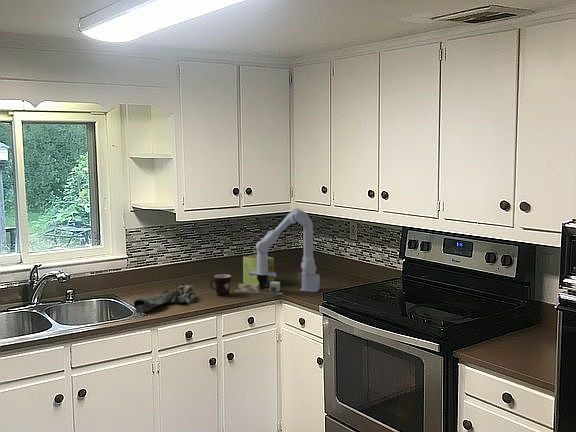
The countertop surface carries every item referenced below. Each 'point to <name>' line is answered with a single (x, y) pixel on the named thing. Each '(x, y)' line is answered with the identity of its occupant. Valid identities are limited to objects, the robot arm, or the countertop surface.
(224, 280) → the coffee mug
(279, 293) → the rail
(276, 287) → the marked cube
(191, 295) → the foil
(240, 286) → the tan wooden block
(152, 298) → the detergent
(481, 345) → the countertop surface
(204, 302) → the countertop surface
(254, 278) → the protein box
